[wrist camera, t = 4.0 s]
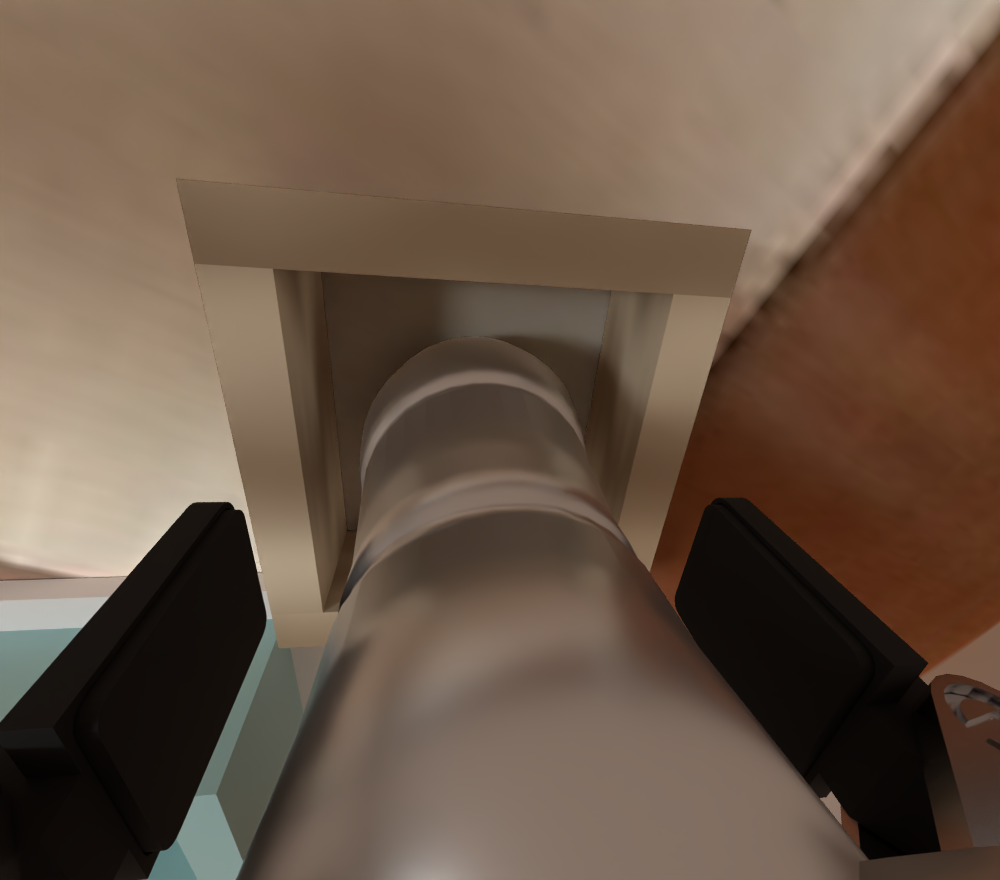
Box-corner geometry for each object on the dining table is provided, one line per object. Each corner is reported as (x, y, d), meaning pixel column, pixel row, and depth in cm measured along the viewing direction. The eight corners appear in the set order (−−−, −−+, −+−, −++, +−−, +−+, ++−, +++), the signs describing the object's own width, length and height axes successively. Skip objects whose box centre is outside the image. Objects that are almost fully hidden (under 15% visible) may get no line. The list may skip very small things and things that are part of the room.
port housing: (-129, 584, 16) (-503, 825, 9) (338, 570, 18) (284, 756, 12) (44, 814, 23) (-104, 1038, 16) (363, 783, 25) (338, 969, 19)
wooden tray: (255, 191, 12) (175, 178, 8) (669, 226, 14) (751, 229, 10) (311, 561, 18) (278, 648, 14) (596, 553, 19) (632, 628, 16)
